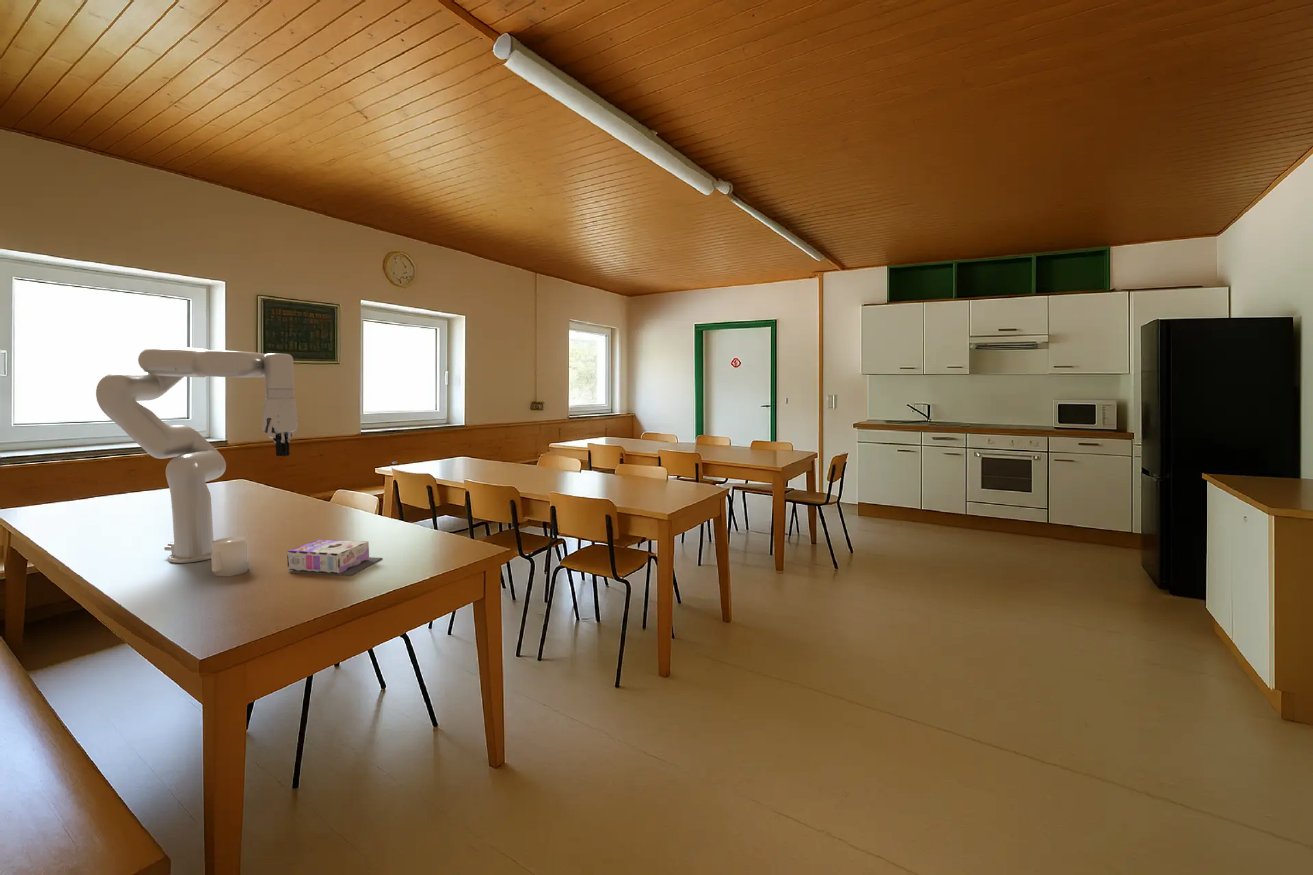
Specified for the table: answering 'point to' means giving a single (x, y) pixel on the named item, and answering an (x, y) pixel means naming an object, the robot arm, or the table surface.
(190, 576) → the table surface
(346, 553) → the candy box
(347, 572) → the mat
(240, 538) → the mug
